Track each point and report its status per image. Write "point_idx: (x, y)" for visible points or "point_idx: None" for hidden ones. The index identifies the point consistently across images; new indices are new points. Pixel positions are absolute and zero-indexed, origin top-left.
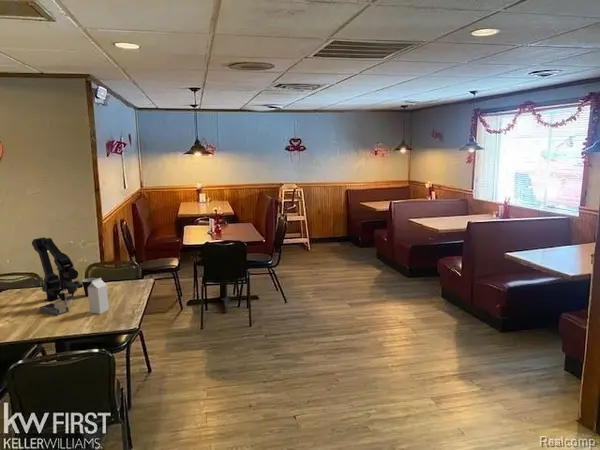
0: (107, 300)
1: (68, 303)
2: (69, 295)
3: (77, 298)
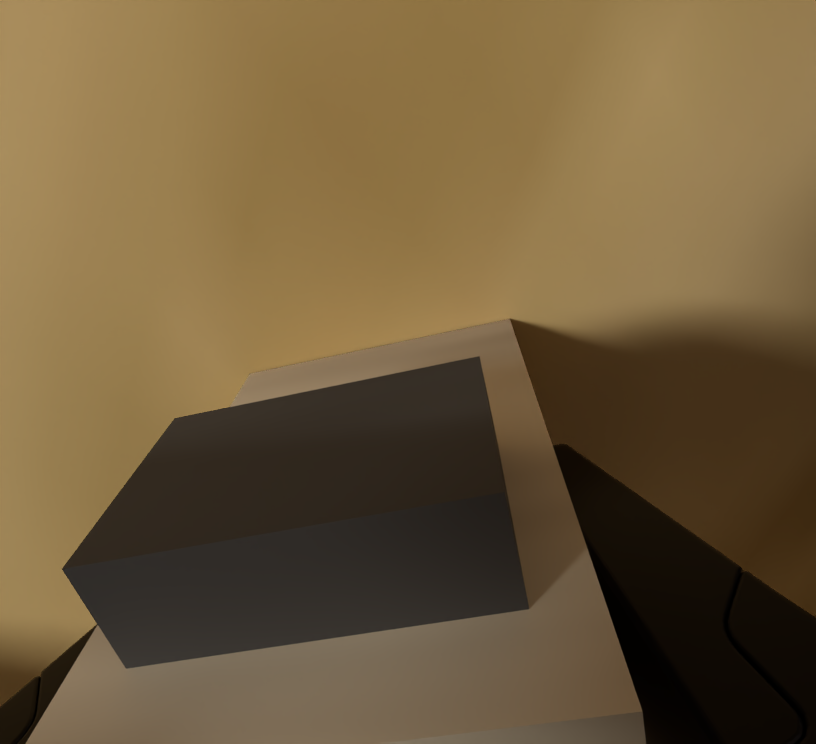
0: None
1: (420, 361)
2: (241, 682)
3: None
